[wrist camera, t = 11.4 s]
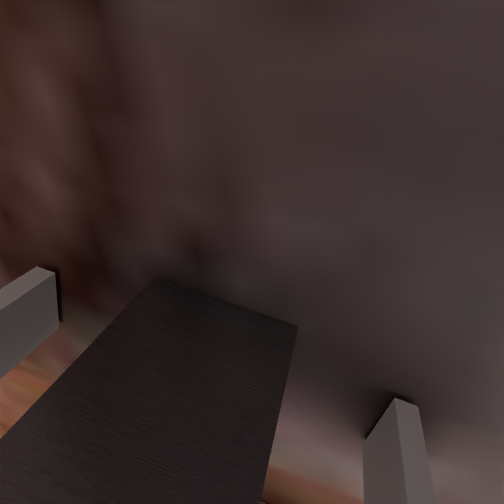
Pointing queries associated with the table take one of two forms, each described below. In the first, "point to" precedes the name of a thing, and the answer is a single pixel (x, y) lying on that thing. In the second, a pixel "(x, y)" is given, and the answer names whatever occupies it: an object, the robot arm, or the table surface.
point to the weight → (157, 409)
